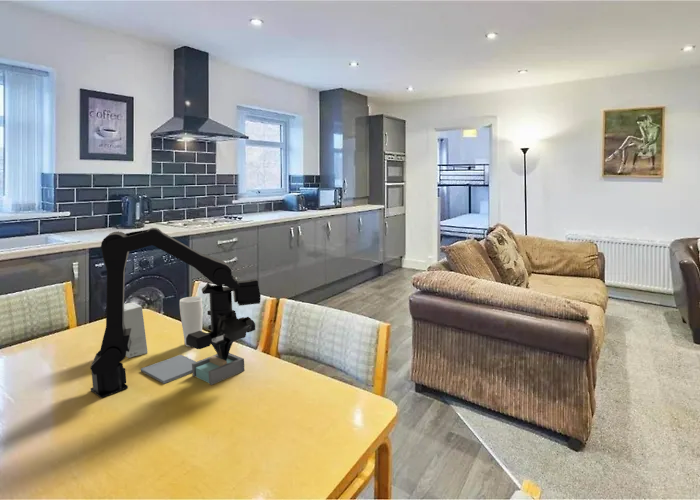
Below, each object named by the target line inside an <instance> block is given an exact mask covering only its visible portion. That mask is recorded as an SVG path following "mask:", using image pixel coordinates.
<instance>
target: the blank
mask: <svg viewBox="0 0 700 500" xmlns="http://www.w3.org/2000/svg"><path fill="white" fill-rule="evenodd" d="M209 357H210V362H209V363H206V364H204V365H201V366H199V367H196V376H195V377H196V379H197V378H198V379H200V380H202V381H204V382H206V383H208V384H209V373H208V371H210V370H213V369H215V368H218V367H220V366H223V365H225V364H228V363H230V362H233V360H231V359H228V358H227V360H226V361H225V360H223V359H220V358H218V357H216V356H213V355H210V356H209Z"/></svg>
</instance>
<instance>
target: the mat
mask: <svg viewBox="0 0 700 500" xmlns="http://www.w3.org/2000/svg"><path fill="white" fill-rule="evenodd" d="M195 362H197V361H196V360H194V359H192V358H189V357H188V356H184V355H183V354H178V355H176V356H173V357H170V358H168V359H164V360H162V361H158V362H156V363H153V364H149V365H148V366H147V365H146V366H143V367H141V368H140V372H141V373H143V374H145V375H147V376H149V377H150V378H152V379H154V380H155V381H157V382H160V383H161V384H163V385H165V384H168V383H170V382H172V381H175V380H177V379H180V378H183V377H185V376H187V375H190V374H192V363H195Z"/></svg>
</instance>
